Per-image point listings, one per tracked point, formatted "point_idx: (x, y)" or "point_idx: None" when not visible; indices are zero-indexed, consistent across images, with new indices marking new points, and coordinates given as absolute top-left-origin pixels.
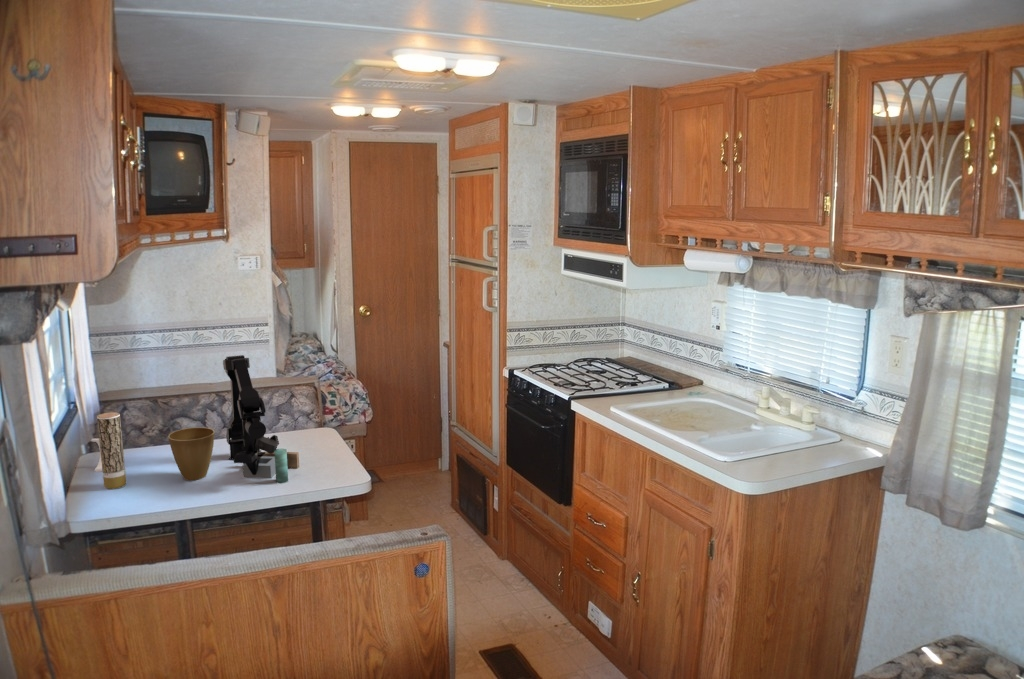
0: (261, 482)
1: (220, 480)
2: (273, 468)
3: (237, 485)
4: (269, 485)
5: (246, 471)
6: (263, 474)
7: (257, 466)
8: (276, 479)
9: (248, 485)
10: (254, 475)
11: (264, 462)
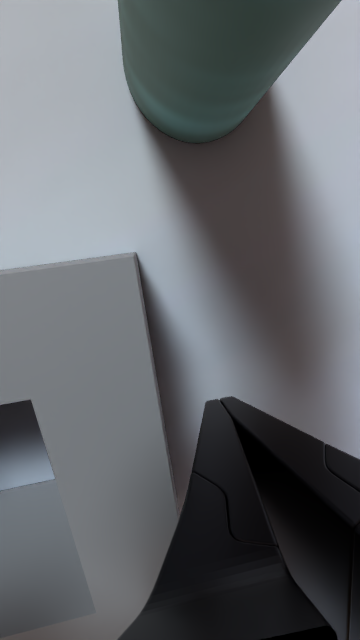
0: (264, 287)
1: None
2: (14, 270)
3: (343, 438)
4: (336, 159)
5: None
6: (150, 343)
7: (237, 448)
8: (256, 103)
9: (341, 359)
10: (164, 426)
11: None
